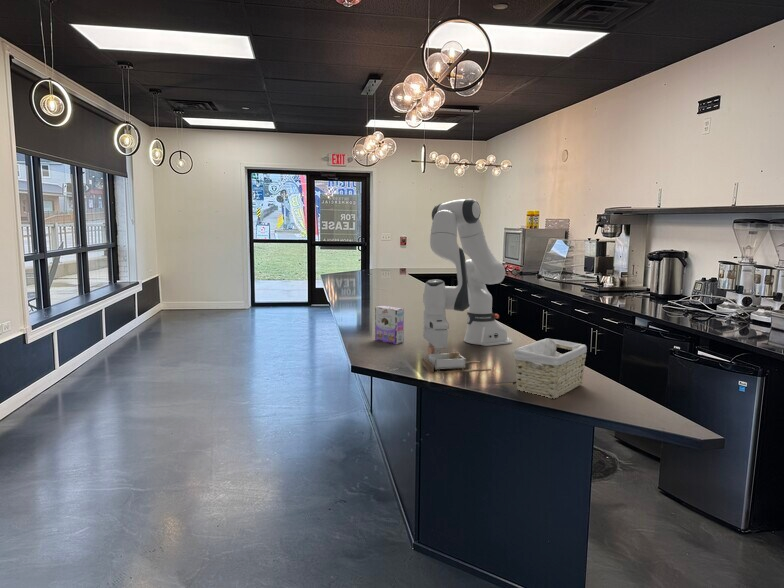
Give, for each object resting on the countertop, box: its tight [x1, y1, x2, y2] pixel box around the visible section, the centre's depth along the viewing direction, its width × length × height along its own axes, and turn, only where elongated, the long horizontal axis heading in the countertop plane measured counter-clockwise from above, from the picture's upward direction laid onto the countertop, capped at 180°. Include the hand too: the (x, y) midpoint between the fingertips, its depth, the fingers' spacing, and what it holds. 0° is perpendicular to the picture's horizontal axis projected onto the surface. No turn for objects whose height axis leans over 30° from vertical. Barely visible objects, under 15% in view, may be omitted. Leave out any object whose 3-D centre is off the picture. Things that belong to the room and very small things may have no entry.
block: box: [427, 345, 442, 355], centre depth 208 cm, size 4×4×5 cm
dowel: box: [448, 351, 460, 359], centre depth 197 cm, size 4×4×4 cm
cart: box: [427, 352, 467, 372], centre depth 196 cm, size 12×9×5 cm
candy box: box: [374, 305, 405, 345], centre depth 243 cm, size 14×6×16 cm, turn 47°
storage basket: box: [513, 337, 588, 400], centre depth 177 cm, size 24×16×15 cm
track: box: [422, 358, 492, 374], centre depth 197 cm, size 24×13×4 cm, turn 103°
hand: (434, 354), depth 208 cm, fingers closed on block, 4 cm apart
